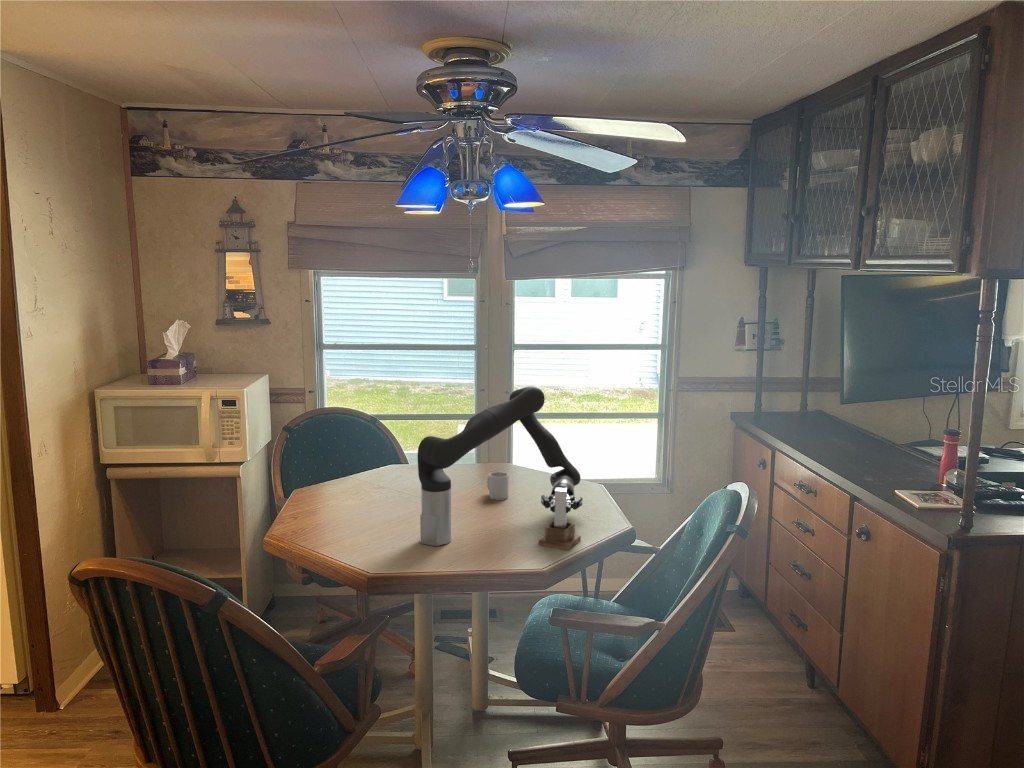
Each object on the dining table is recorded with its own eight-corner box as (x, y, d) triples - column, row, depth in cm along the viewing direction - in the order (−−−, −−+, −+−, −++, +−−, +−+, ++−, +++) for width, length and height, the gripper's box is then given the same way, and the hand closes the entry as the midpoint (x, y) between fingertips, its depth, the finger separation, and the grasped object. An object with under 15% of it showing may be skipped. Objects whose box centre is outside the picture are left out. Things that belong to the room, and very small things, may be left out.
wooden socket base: (568, 550, 229) (568, 533, 228) (538, 544, 234) (539, 528, 233) (580, 540, 238) (580, 523, 237) (551, 534, 243) (551, 518, 242)
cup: (497, 501, 277) (498, 478, 275) (480, 495, 284) (480, 472, 283) (512, 497, 282) (512, 474, 280) (494, 491, 289) (495, 469, 287)
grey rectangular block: (565, 534, 234) (566, 491, 231) (554, 534, 234) (554, 491, 232) (566, 530, 237) (567, 488, 235) (554, 530, 238) (555, 487, 235)
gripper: (541, 481, 248) (537, 497, 232) (584, 482, 247) (583, 499, 230) (541, 503, 250) (537, 520, 233) (584, 504, 248) (583, 522, 231)
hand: (560, 509), depth 231 cm, fingers closed on grey rectangular block, 3 cm apart
